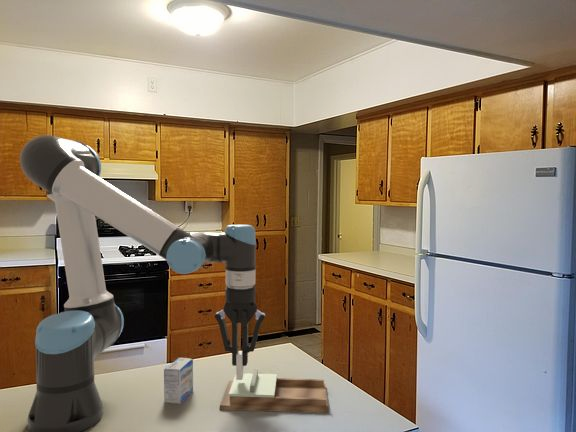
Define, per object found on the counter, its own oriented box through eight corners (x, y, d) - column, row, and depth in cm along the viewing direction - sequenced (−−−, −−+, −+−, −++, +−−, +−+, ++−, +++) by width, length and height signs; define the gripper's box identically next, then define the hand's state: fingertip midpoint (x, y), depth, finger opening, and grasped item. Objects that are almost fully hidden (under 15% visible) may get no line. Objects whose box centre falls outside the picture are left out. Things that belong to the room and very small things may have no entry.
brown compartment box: (219, 409, 106) (219, 398, 106) (229, 384, 120) (229, 374, 120) (328, 412, 106) (328, 402, 105) (325, 387, 120) (325, 377, 119)
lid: (228, 396, 107) (228, 387, 107) (236, 375, 119) (236, 367, 119) (274, 397, 107) (274, 388, 106) (276, 376, 119) (277, 368, 119)
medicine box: (180, 404, 108) (180, 370, 108) (163, 402, 109) (163, 368, 109) (193, 390, 116) (193, 358, 116) (177, 389, 117) (177, 356, 116)
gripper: (211, 288, 108) (211, 383, 109) (265, 289, 108) (264, 384, 109) (217, 282, 116) (217, 371, 117) (267, 283, 115) (266, 372, 117)
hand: (239, 377), depth 113 cm, fingers closed
